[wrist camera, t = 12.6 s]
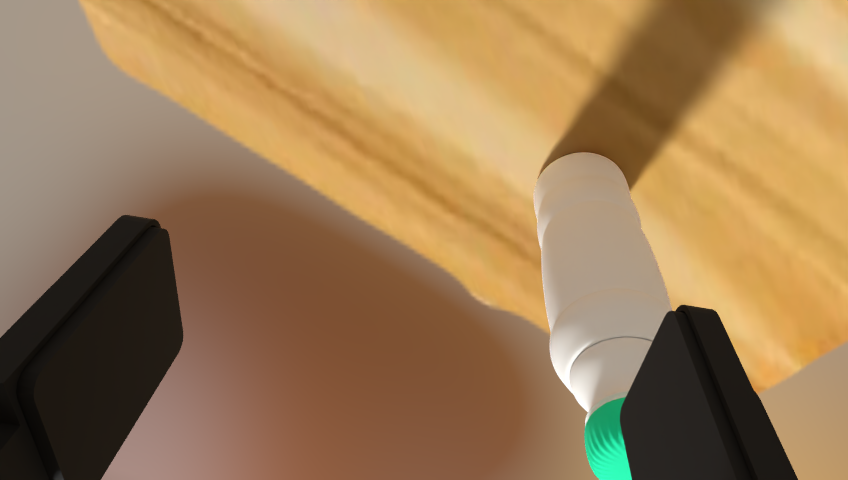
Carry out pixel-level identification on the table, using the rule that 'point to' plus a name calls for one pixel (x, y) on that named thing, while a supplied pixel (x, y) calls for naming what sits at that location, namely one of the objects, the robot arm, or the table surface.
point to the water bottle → (597, 294)
